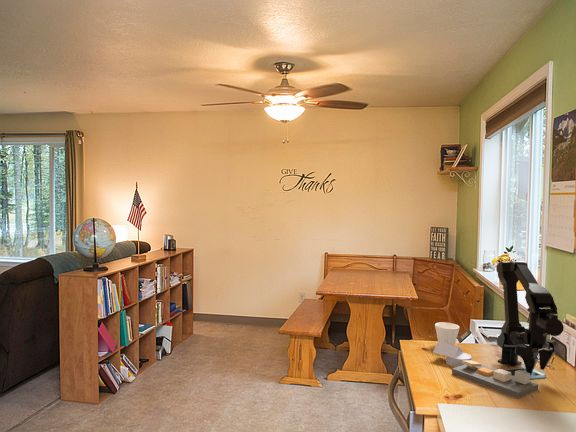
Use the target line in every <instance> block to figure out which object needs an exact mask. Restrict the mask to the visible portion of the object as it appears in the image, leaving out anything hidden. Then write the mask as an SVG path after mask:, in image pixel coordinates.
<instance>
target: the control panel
mask: <svg viewBox="0 0 576 432" xmlns="http://www.w3.org/2000/svg"><path fill="white" fill-rule="evenodd" d="M482 367H485V368H488V369H491V370H494V371H495V370H497V369H495V368H493V367H489V366H486V365H483V364H481V367H471V366H468V365H462V366H459V367H452V368H451V375H452V376H455V377H456V376H457V377H459V378H462V379H464V380H467V381H469V382H471V383H474V384H476V385H477V384H478V385H480V386H483V387H485V388H488V389H490V390H494V391H497V392H499V393H502V394H504V395H506V396H509V397H512V398H515V399H518V400H519V399H521V398H523V397H526V396H527V395H531V394H533V393H534V392H537V391H539V383H537V382H534V381H530V382H529V383H527V384H522V383H519V382H516V381H514V380H515V375H512V374H511V380H509V381H506V382H503V381H500V380H497V379H494V378H493V375H491V376H489V377H488V376H485V375H482V374H479V373H477V369H480V368H482Z"/></svg>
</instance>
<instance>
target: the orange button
mask: <svg viewBox="0 0 576 432" xmlns="http://www.w3.org/2000/svg"><path fill="white" fill-rule="evenodd" d="M477 373H479V374H482V375H485V376H488V377H489V376H491V375H494V370H491V369H488V368H485V367H482V368H480V369H477Z"/></svg>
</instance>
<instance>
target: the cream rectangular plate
mask: <svg viewBox="0 0 576 432" xmlns="http://www.w3.org/2000/svg"><path fill="white" fill-rule="evenodd" d="M462 364H465V365H468V366H471V367H481V365H482V363H480V362H477V361H475V360H472V359H471V360H463V361H462Z"/></svg>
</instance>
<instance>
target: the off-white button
mask: <svg viewBox="0 0 576 432" xmlns="http://www.w3.org/2000/svg"><path fill="white" fill-rule="evenodd" d="M511 375H512V372H511V371H508V370H505V369H502V368H498V369H496V370H495V371H494V375H493V378H494V379H497V380H500V381H503V382H506V381H509V380H511Z"/></svg>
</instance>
